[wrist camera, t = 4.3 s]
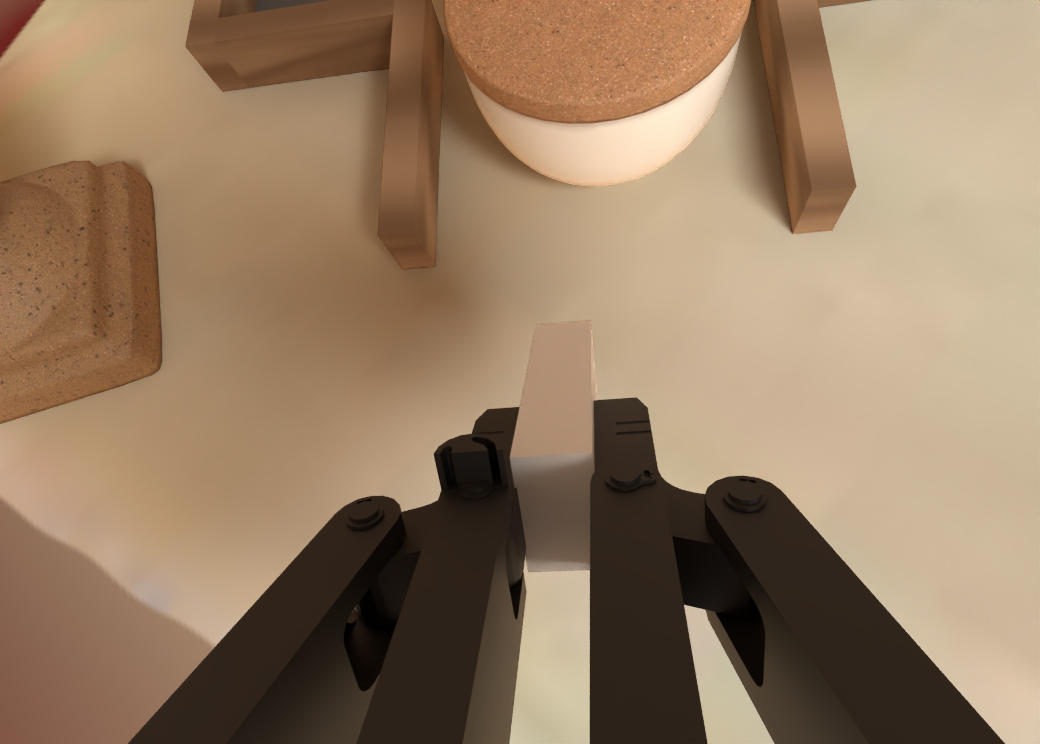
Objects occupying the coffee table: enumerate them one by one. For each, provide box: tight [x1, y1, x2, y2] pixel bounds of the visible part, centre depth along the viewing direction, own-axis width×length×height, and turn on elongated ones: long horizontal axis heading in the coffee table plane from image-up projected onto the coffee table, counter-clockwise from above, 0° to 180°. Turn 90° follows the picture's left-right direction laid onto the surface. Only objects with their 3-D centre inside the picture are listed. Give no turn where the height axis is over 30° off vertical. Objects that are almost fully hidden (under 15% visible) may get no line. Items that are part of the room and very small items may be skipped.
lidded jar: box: [444, 0, 751, 186], centre depth 25 cm, size 11×11×9 cm
